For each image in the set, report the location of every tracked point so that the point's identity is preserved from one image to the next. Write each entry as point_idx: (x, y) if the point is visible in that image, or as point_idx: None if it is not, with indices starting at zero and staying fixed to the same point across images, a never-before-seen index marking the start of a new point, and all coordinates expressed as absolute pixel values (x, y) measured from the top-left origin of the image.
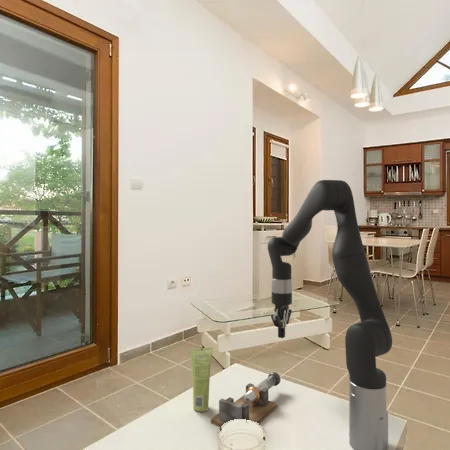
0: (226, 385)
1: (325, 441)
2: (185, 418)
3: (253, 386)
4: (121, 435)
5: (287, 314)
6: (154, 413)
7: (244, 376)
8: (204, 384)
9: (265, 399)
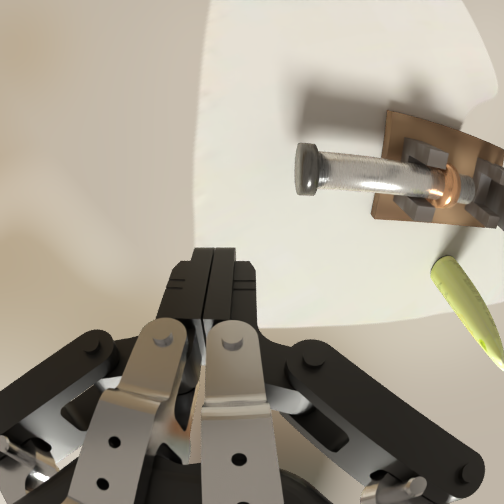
0: (330, 286)
1: None
2: (471, 267)
3: (449, 196)
4: (499, 298)
5: (90, 489)
6: None
7: None
8: (479, 294)
9: (430, 145)
